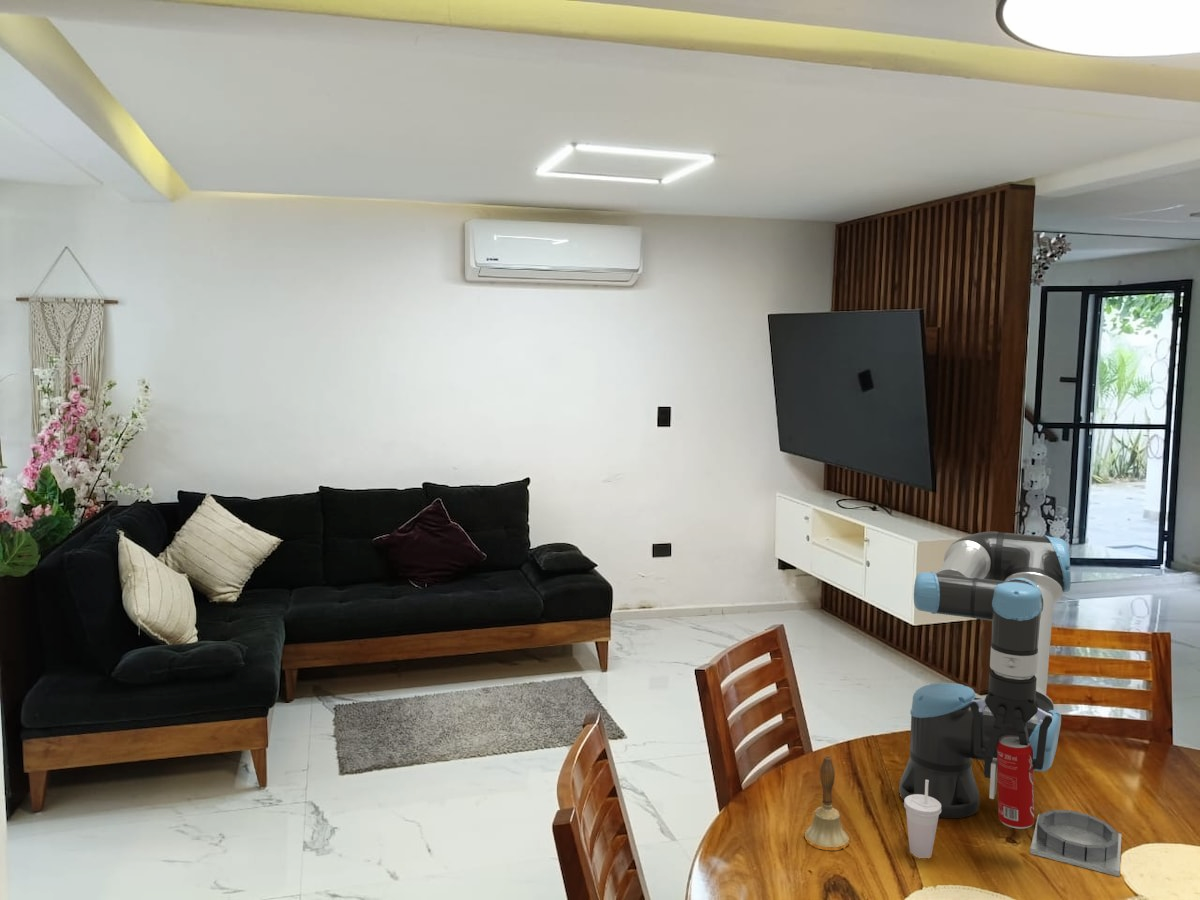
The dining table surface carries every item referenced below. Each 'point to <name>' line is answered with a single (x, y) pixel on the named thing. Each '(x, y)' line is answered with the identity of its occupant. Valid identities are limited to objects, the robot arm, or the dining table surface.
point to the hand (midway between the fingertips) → (1006, 798)
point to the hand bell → (827, 813)
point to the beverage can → (1015, 783)
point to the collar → (1077, 841)
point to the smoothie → (922, 822)
